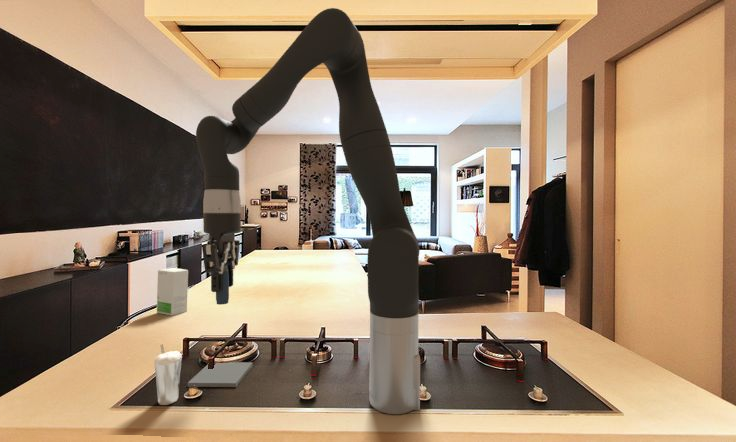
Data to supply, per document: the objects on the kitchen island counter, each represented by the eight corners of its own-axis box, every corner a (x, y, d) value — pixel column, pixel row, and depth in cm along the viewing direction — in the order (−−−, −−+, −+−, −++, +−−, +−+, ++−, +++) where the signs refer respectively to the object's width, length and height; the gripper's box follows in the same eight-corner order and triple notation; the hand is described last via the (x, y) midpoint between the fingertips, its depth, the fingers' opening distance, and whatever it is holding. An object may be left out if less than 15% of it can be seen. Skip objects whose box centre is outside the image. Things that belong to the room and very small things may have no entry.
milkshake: (174, 390, 69) (174, 341, 69) (186, 399, 66) (185, 347, 66) (148, 400, 66) (148, 347, 66) (159, 410, 62) (159, 355, 62)
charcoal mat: (252, 365, 81) (252, 362, 81) (236, 387, 71) (236, 383, 71) (210, 365, 81) (210, 362, 81) (187, 386, 71) (187, 382, 71)
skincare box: (156, 313, 124) (156, 269, 123) (172, 308, 130) (172, 267, 130) (172, 316, 120) (172, 271, 120) (188, 311, 126) (188, 268, 126)
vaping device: (229, 298, 78) (228, 246, 78) (228, 304, 74) (228, 248, 73) (216, 299, 78) (216, 246, 77) (215, 305, 73) (214, 248, 72)
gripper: (225, 210, 68) (226, 296, 68) (250, 211, 83) (251, 282, 83) (188, 210, 68) (188, 296, 68) (219, 211, 83) (219, 282, 83)
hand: (222, 288), depth 76 cm, fingers closed on vaping device, 5 cm apart
